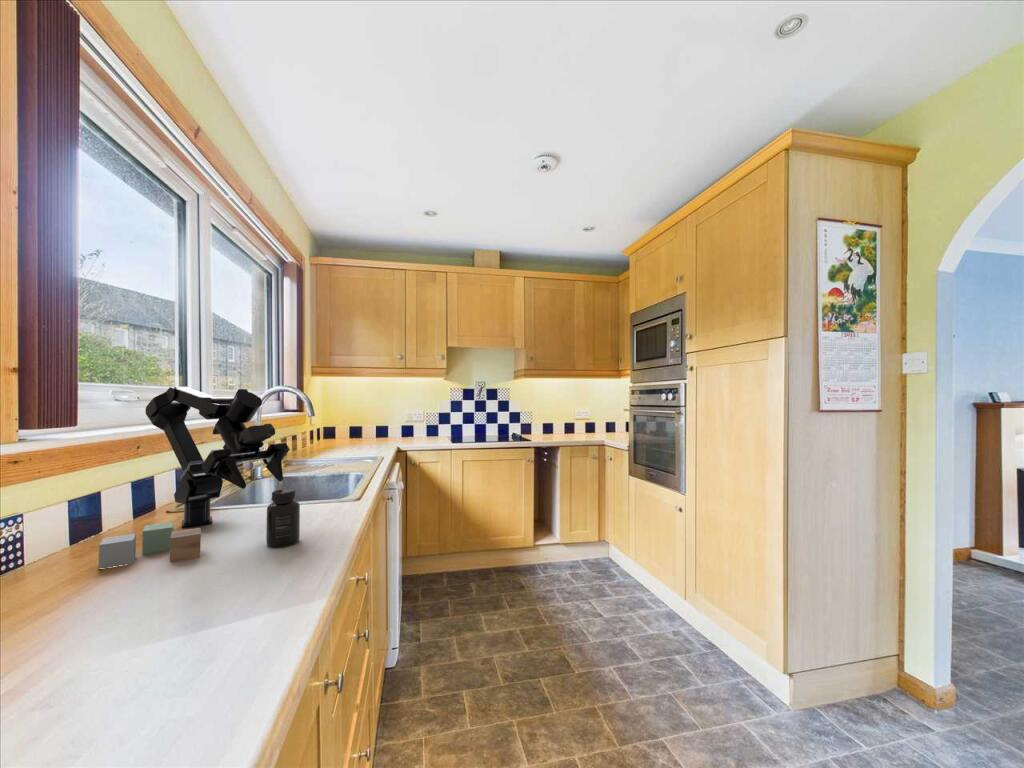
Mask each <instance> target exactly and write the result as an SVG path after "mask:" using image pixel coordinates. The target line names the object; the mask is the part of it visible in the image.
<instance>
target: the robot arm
mask: <svg viewBox="0 0 1024 768" xmlns="http://www.w3.org/2000/svg"><path fill="white" fill-rule="evenodd" d="M262 404H263V401H262V398H261V397H260V396H258V395H256V394H255V393H253V392H250V391H248V389H247V388H238V390H237V391H236V392H235V395H234V396H219V395H218V396H217V395H216V396H215V395H214V396H213V395H211V394H208V393H205V392H202V391H200V390H196V389H193V388H192V387H190V386H172V387H171V386H170V387H169V388H168V389H167V390H166V391H165V392H163V393H161V394H158V395H157V396H155V397H153V398H152V399H151V400H150V401H149V403H148V404H147V405H146V406H145V415H146V416H147V418H148V420H149V421H150V422H151V424H152V425H153V426H155V428H158V429H160V430H161V431H163V432H164V435H165V436H166V438H167V440H168V442H169V444H170V447H171V449H172V451H173V452H174V454H175V457H176V460H177V461H178V463H179V465H180V467H181V469H182V475H181V477H180V480H179V483H180V485H178V487H177V489H176V491H175V493H174V494H173V497H174V498H173V499H174V502H175V503H178V504H183V519H182V520H181V528H189V527H197V526H204V525H210V524H213V516H212V515H211V512H212V511H211V510H212V509H211V507H212V505H211V504H212V503H211V502H212V499H215V498H220V497H221V493H222V488H223V483H224V481H223V480H225V481H227V482H229V483H231V484H233V485H235V486H237V487H238V488H241V489H243V490H244V489H246V488H247V484H246V481H245V479H244V477H243V475H242V474H241V472H240V470H239V467H238V465H237V463H245V462H254V461H260V460H262V462H263V463H264V464H265V468H266V470H268V471H269V473H271V474H272V476H273V477H274V478H275V479H276V480H277V481H278V482H280V483H281V482H282V481H283V479H284V476H283V467H282V466H283V465H282V464H283V462H282V461H283V459H285V457H286V455H287V454H288V453H289V452H290V448H289V445H288V443H286V442H278V443H270V444H269V445H268V447H267V449H266V450H260V448H263V447H264V442H265V441H266V440H268V439H271V437H274V436H275V434H276V428H275V427H274V426H273V424H272V423H264V424H259V425H251V426H248V427H247V426H246V425H245V424H247V423H250V422H251V421H252V419H253V418H254V417H255V415H256V413H257V412H258V411H259V409H260V408H261V406H262ZM191 408H193V409H196V410H198V411H199V412H198V415H200V416H201V417H203V419H205V420H209V421H210V420H217V422H216V423H214V424H215V425H214V428H213V430H212V435H213V436H214V435H220V437H221V439H222V440H223V442H224V445H223V446H222V448H223V449H212V450H211V451H210V452H209V453H208V455H207V456H206V458H205V460H204V459H203V457H202V455H201V453H200V451H199V448H198V447H197V445H196V443H195V441H194V439H193V436H192V434H191V433H190V431H189V429H188V426H187V425H186V423H185V420H186V418H187V416H188V412H189V410H190V409H191Z"/></svg>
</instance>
